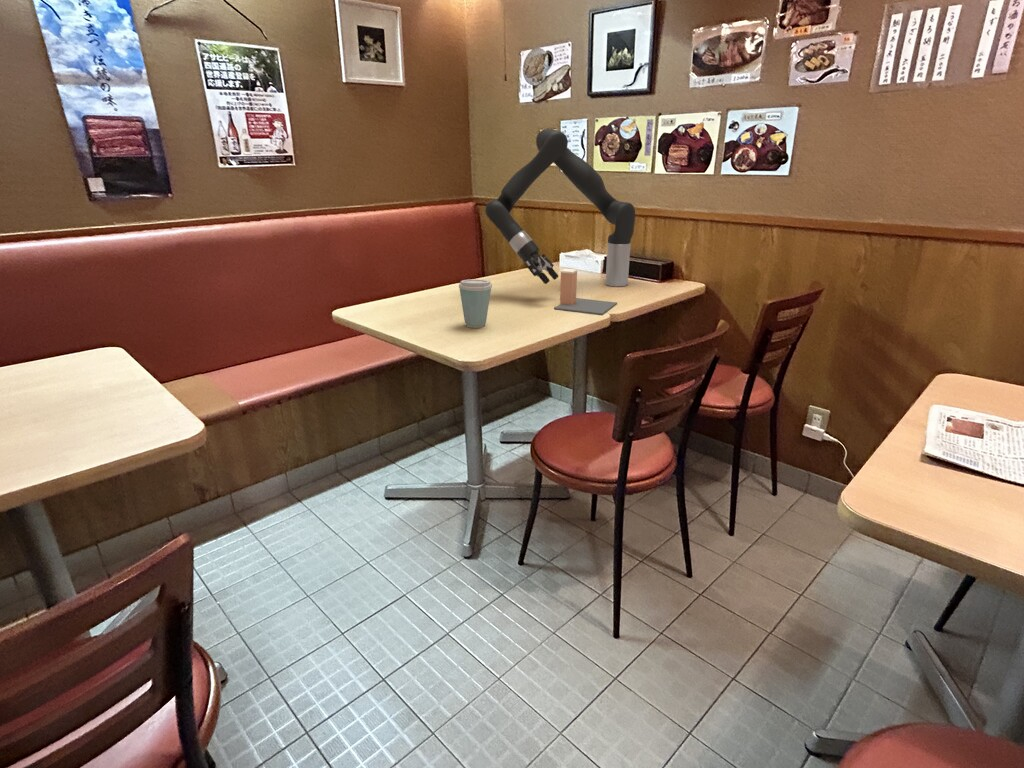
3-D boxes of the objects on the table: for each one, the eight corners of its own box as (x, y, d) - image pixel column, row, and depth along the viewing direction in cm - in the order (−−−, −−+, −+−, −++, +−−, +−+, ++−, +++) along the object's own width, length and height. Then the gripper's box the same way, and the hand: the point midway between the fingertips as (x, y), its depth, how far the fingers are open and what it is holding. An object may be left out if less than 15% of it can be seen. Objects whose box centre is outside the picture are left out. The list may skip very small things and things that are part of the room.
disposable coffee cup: (459, 321, 196) (458, 276, 190) (492, 320, 197) (491, 276, 191) (460, 330, 186) (458, 283, 181) (494, 329, 187) (493, 283, 182)
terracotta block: (564, 300, 219) (565, 268, 214) (575, 302, 217) (577, 269, 212) (559, 303, 215) (560, 270, 210) (571, 305, 213) (572, 272, 209)
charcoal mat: (571, 298, 224) (571, 297, 224) (617, 304, 216) (617, 302, 216) (554, 309, 210) (554, 307, 210) (602, 315, 202) (602, 313, 202)
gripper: (522, 242, 208) (551, 277, 207) (538, 237, 219) (566, 270, 219) (509, 256, 212) (537, 290, 211) (525, 250, 224) (552, 283, 223)
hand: (552, 280), depth 215 cm, fingers open, 8 cm apart
